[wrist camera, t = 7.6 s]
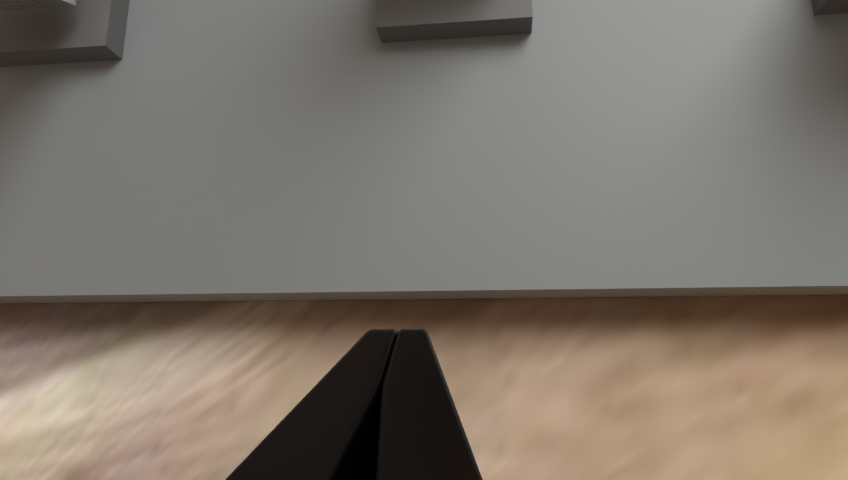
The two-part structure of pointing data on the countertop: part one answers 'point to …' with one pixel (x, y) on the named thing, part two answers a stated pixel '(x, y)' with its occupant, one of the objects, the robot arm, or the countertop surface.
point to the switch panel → (422, 149)
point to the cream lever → (33, 4)
